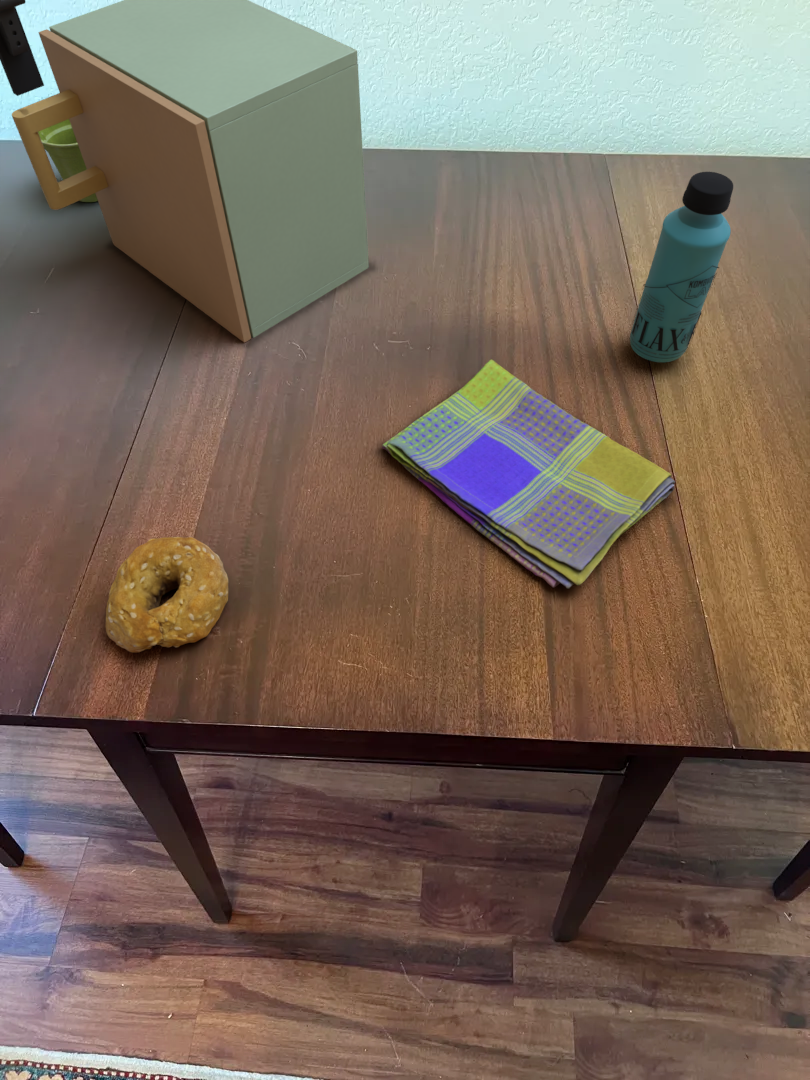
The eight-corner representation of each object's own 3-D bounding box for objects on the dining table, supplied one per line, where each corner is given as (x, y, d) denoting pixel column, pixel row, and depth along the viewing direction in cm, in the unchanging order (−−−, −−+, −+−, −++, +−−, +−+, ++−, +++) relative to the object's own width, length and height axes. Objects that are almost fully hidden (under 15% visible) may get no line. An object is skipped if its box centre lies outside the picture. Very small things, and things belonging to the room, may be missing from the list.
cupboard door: (194, 373, 84) (127, 155, 65) (65, 268, 95) (-26, 54, 76) (251, 338, 88) (204, 120, 68) (120, 241, 98) (46, 28, 79)
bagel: (85, 607, 68) (65, 578, 64) (192, 537, 72) (179, 506, 68) (146, 685, 63) (128, 659, 59) (256, 606, 68) (246, 577, 64)
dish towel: (494, 368, 85) (496, 349, 82) (684, 494, 74) (692, 475, 72) (376, 454, 78) (375, 435, 75) (567, 605, 67) (572, 588, 65)
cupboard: (253, 338, 88) (206, 117, 68) (122, 241, 99) (48, 26, 79) (369, 268, 95) (357, 49, 75) (235, 184, 106) (193, -26, 86)
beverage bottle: (612, 354, 86) (659, 181, 69) (647, 326, 88) (700, 152, 72) (662, 383, 83) (723, 210, 67) (697, 353, 86) (764, 179, 69)
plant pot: (69, 171, 108) (45, 106, 101) (137, 172, 108) (117, 107, 101) (49, 209, 103) (22, 144, 96) (120, 211, 103) (98, 145, 95)
